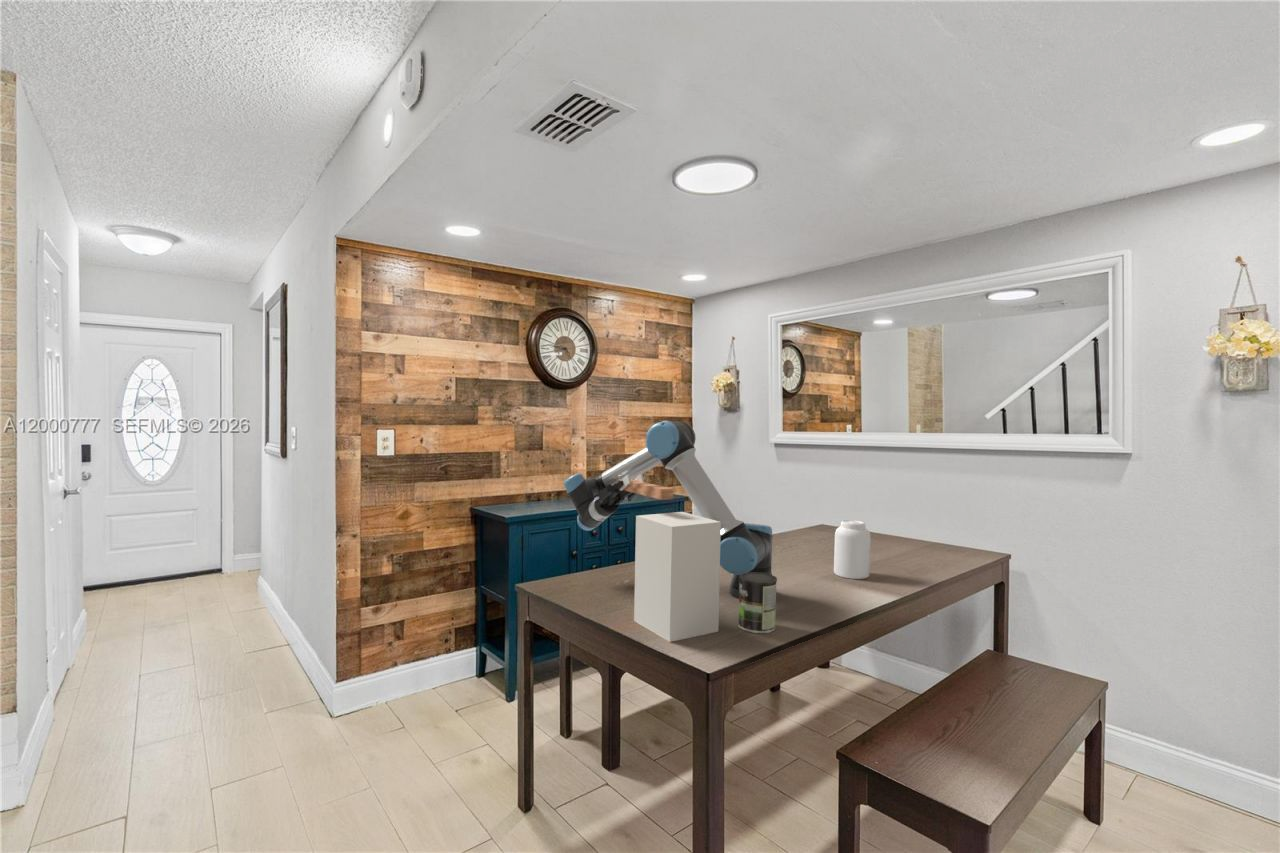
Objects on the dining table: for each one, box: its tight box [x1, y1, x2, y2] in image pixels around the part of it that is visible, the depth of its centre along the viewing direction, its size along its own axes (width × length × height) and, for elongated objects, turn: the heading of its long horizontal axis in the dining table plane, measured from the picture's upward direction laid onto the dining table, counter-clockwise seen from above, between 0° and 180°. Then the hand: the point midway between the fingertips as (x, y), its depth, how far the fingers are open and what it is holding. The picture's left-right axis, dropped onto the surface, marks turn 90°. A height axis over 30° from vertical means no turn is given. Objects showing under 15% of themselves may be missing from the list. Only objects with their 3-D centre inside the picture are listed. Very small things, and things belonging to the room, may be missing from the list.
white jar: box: [833, 519, 872, 580], centre depth 229 cm, size 12×12×20 cm
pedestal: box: [633, 511, 721, 643], centre depth 172 cm, size 18×16×30 cm
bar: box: [616, 479, 674, 501], centre depth 187 cm, size 26×4×3 cm, turn 31°
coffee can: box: [737, 572, 778, 634], centre depth 173 cm, size 10×10×14 cm
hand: (635, 478), depth 190 cm, fingers closed on bar, 4 cm apart
